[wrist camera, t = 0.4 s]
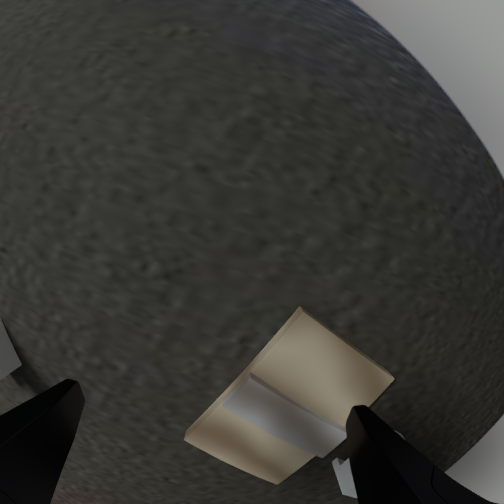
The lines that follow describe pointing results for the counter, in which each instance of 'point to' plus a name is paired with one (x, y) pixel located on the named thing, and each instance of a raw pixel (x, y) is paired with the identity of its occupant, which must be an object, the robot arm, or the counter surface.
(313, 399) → the board
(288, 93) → the counter surface
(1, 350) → the white angled block
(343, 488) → the block
